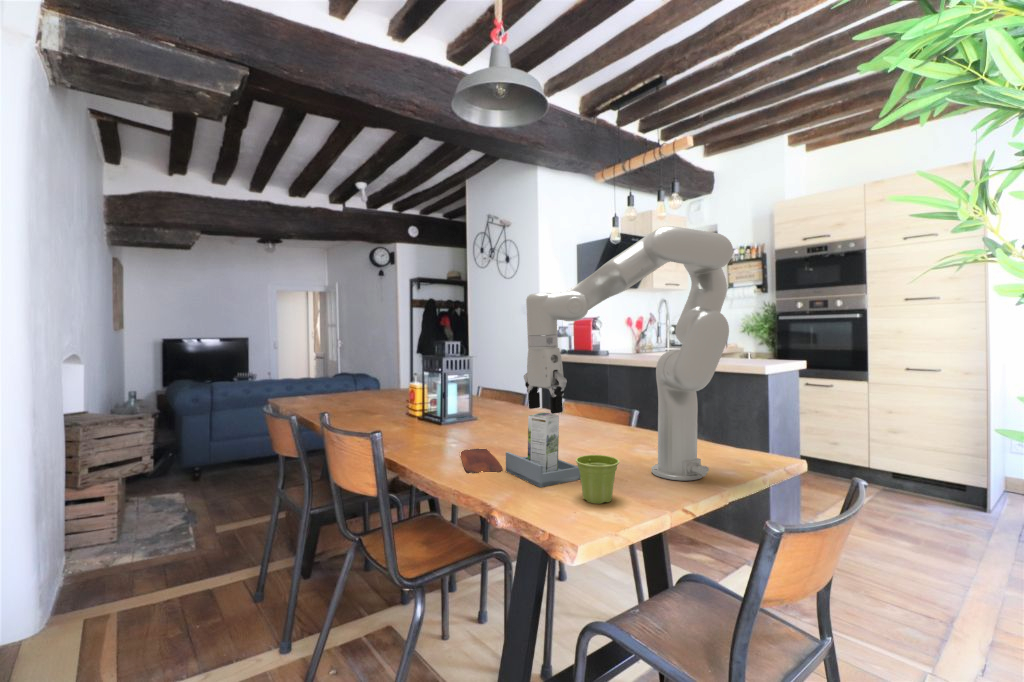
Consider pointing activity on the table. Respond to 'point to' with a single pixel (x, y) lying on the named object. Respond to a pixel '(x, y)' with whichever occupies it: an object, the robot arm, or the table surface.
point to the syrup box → (543, 440)
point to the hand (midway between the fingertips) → (545, 410)
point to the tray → (540, 471)
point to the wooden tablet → (480, 461)
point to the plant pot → (597, 477)
